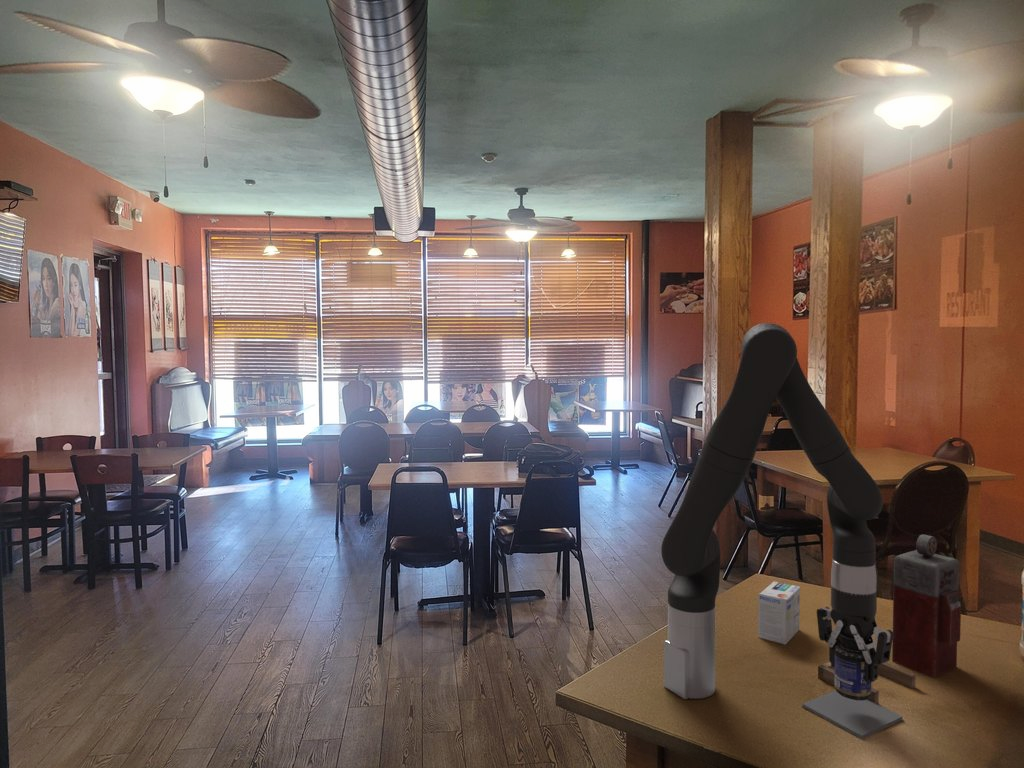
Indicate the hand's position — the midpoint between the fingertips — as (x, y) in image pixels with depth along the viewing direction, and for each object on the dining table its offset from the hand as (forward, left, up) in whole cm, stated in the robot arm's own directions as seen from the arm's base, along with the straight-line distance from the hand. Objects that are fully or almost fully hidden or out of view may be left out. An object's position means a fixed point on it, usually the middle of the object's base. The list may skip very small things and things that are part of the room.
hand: (852, 673), depth 123 cm
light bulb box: (+17, +30, -8) cm, 36 cm away
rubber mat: (0, 0, -8) cm, 8 cm away
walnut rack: (+13, +5, -8) cm, 16 cm away
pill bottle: (0, 0, -4) cm, 4 cm away
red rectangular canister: (+31, +3, -8) cm, 32 cm away
